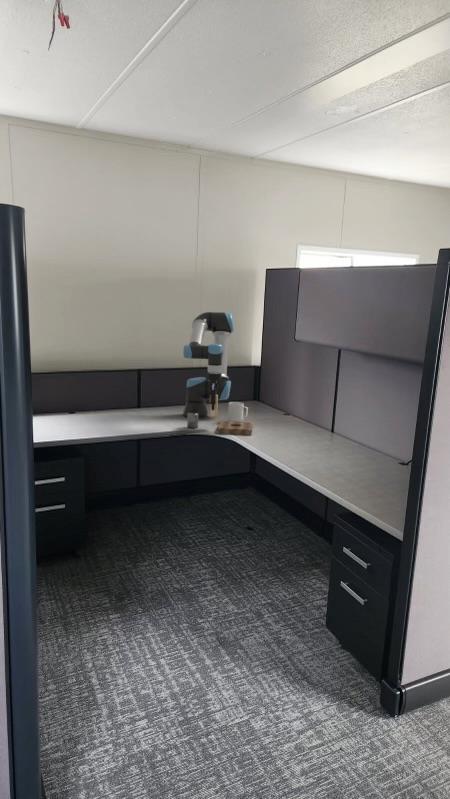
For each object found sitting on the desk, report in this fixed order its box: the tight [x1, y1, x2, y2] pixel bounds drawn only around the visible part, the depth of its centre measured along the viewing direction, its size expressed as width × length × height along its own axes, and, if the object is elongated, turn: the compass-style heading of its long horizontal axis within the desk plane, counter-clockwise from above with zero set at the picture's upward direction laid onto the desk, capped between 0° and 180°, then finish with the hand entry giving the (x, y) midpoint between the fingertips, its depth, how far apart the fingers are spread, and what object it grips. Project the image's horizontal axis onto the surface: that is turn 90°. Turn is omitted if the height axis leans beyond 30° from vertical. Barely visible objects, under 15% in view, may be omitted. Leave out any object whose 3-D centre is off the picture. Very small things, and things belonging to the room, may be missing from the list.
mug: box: [227, 401, 249, 422], centre depth 317 cm, size 12×9×11 cm
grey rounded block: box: [186, 413, 199, 430], centre depth 300 cm, size 6×6×8 cm
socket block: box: [217, 420, 254, 436], centre depth 297 cm, size 18×18×3 cm
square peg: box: [208, 395, 219, 419], centre depth 298 cm, size 4×4×12 cm
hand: (213, 414), depth 299 cm, fingers closed on square peg, 4 cm apart
